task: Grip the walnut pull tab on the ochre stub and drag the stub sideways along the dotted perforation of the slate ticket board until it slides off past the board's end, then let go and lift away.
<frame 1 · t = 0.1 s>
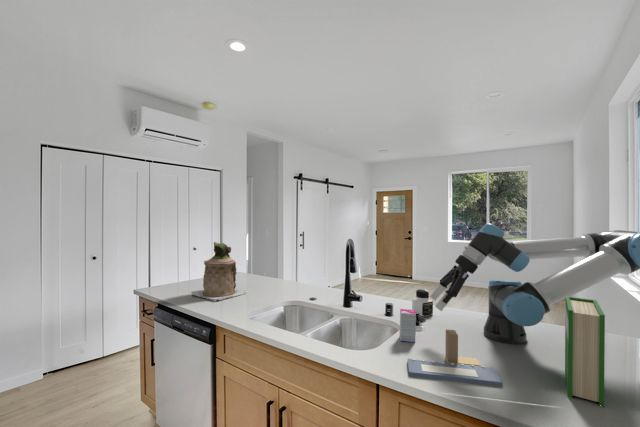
hand: (435, 303, 122), 15 cm above the worktop, tool tilted 35°, fingers open, 13 cm apart
supplement box: (407, 340, 125), on the worktop
cookie jar: (219, 294, 192), on the worktop
hardback book: (582, 388, 91), on the worktop
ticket: (451, 374, 98), on the worktop
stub: (462, 348, 105), point 5 cm above the worktop, slide at 0.0 cm
medicine bottle: (422, 314, 157), on the worktop
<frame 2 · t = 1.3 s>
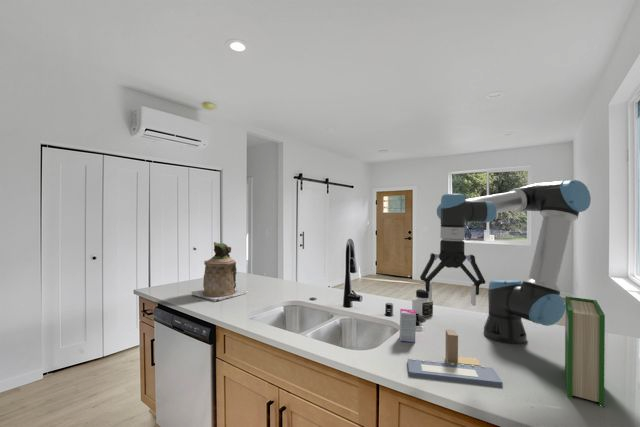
hand: (451, 303, 106), 20 cm above the worktop, tool pointing down, fingers open, 13 cm apart
nothing on the worktop moved.
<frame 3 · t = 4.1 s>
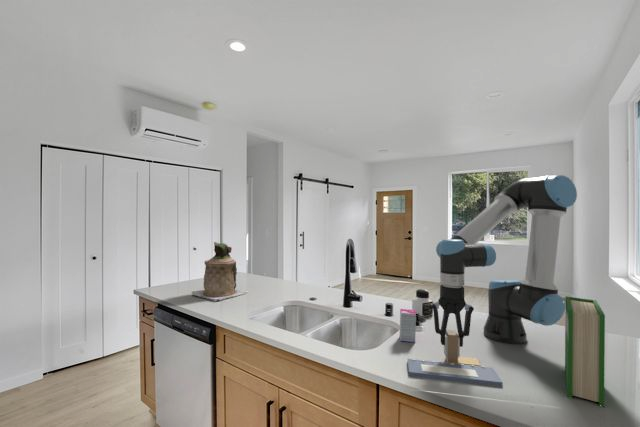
hand: (451, 354, 106), 3 cm above the worktop, tool pointing down, fingers closed on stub, 3 cm apart
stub: (462, 348, 105), point 5 cm above the worktop, slide at 0.0 cm, touching gripper
everything else where it was.
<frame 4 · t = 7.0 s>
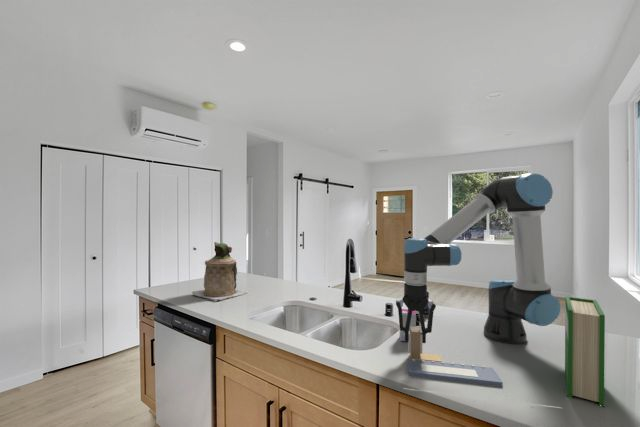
hand: (415, 351, 109), 3 cm above the worktop, tool pointing down, fingers closed on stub, 3 cm apart
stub: (425, 344, 108), point 5 cm above the worktop, slide at 11.8 cm, touching gripper
everything else where it was.
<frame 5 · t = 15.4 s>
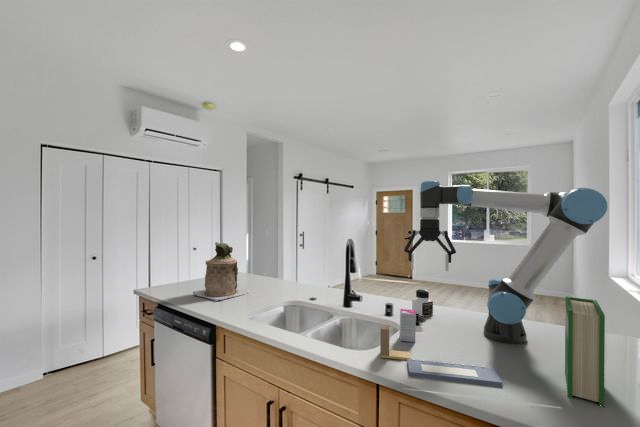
hand: (429, 270, 131), 27 cm above the worktop, tool pointing down, fingers open, 13 cm apart
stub: (395, 341, 110), point 5 cm above the worktop, slide at 22.0 cm
everything else where it was.
at the end: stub slide at 22.0 cm; the gripper is holding nothing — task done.
